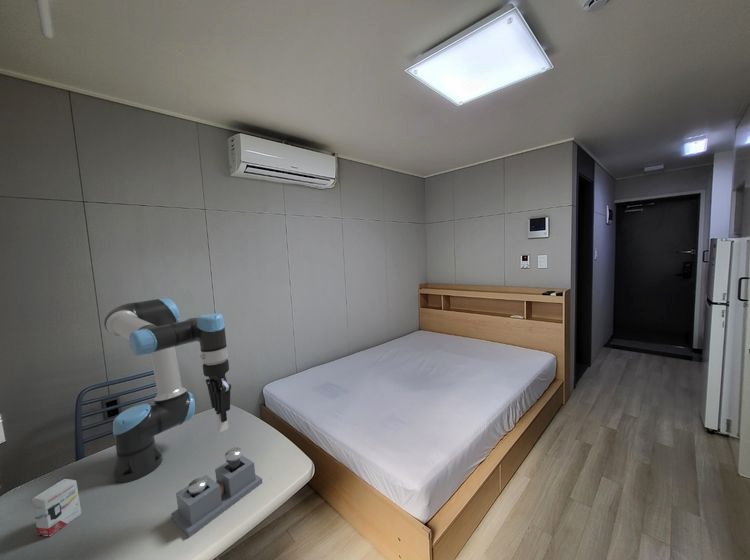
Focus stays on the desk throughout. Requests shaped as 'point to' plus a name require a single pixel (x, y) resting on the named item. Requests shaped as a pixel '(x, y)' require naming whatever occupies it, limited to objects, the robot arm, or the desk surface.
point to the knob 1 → (197, 486)
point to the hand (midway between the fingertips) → (223, 429)
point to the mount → (215, 496)
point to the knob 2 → (233, 459)
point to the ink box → (56, 506)
